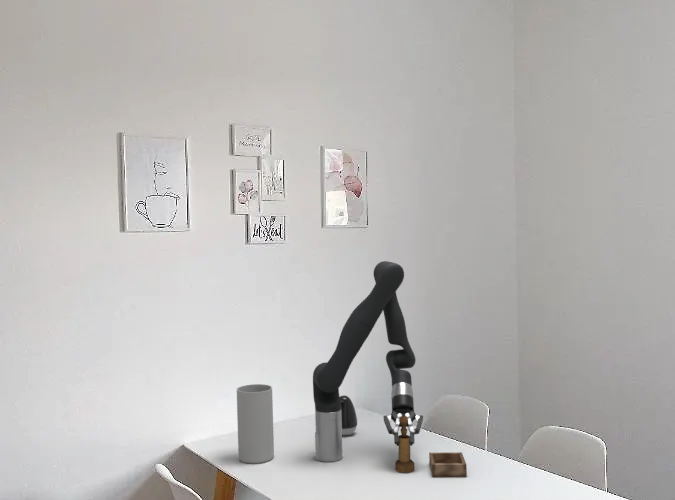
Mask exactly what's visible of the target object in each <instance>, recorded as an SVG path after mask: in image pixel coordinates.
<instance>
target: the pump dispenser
mask: <svg viewBox="0 0 675 500" xmlns="http://www.w3.org/2000/svg"><path fill="white" fill-rule="evenodd" d="M339 396H340V400H341V415H342V435H343V436H342V437H346V436H345V435H348V436H350V435H352V434H354V433H355V431H356V429H357V427H358V417H357V413H356V409H355V406H354V403H353V401H352V399H351V398H350V397H349V396H348V395H345V394H344V395H339Z"/></svg>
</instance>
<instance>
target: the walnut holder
mask: <svg viewBox="0 0 675 500" xmlns="http://www.w3.org/2000/svg"><path fill="white" fill-rule="evenodd" d="M428 457H429V461H428V463H429V468H430V472H431V473H430V474H431V478H467V476H468V474H467V472H468V471H467V463H466V459H465V457H464V455H463V452H459V451H458V452H453V451H452V452H446V451H445V452H429V453H428Z"/></svg>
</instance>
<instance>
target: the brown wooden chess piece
mask: <svg viewBox="0 0 675 500" xmlns="http://www.w3.org/2000/svg"><path fill="white" fill-rule="evenodd" d="M399 422H400V424H401V426H402V427H401V428H399V431H400V435H399V434H398V439H399V446H398V459H397V460H395V462H394V470H395V471H396V472H398V473H403V474H409V473H412V472H414V471H415V468H416V467H415V461H413V459H411V446H410V434H409V435H408V434H407V433H408V428H407V427H406V425H407V423H408V418H407V417H406V416H404V415H403V416H400V418H399Z"/></svg>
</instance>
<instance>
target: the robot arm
mask: <svg viewBox="0 0 675 500" xmlns="http://www.w3.org/2000/svg"><path fill="white" fill-rule="evenodd" d="M373 278H374V281H375V282H374V283H375V284H374V287H373V288H372V290H371V291H370V293H369V294H368V295H367V296H366V297H365V298H364V299H363V300H362V301H361V302H360V303H359V304H358V305H357V306H356V307H355V308H354V309H353V310H352V312H351V313H350V315H349V317H348V318H347V319H346V321H345V324H344V325H343V327H342V329H341V331H340V335H339V338H338V341H337V343H336V344H337V345H336V348H335V350H334V352H333V354H332V355H331V356H330V358H329V360H328V361H326V362H321V363H320V364H317V366H316V367H315V368H314V370H313V372H312V389H313V390H312V391H313V401H314V415H315V417H314V418H315V432H314V438H315V439H314V445H315V446H314V447H315V449H314V450H315V461H319V462H325V463H327V462H329V463H330V462H337V461H338V462H339V461H340V460H342V459H343V436H342V415H341V400H340V396H341V395H340V392H339V391H340V389H339V388H340V387H341V386H342V384H343V382H344V380H345V377H346V375H347V373H348V371H349V369H350V367H351V365H352V363H353V361H354V359H355V357H356V356H357V355H358V354H359V352H360V350H361V348H362V346H363V345H364V343H365V342H366V340H367V338H369V336H370V335H371V332H372V330H373V328H375V325H376V323H377V321H378V320H379V318H380V316H381V315H382V314H383V316H384V321H385V330H386V336H387V342H388V343H389V344H390V345H392V346H393V345H394V346H400V347H401V349H393V350H388V352H387V353H386V355H385V362H386V366H387V367H388V370H389V373H390V378H391V393H390V394H391V396H390V398H391V413H390V415H384V416H383V423H384V425H385V428H386V430H387V432H388V435H393V439H394V440H393V441H394V445H396V446H397V447H399V439H398V436H399V431H400V429H401V428H402V426H401V424H400V422H399V418H400V416H403V415H404V416H406V417H407V418H408V423H407V425H406V428H407V431H409V436H410V447H411V446H413V445H415V435H418V434H420V432H421V429H422V425H423V422H424V415H418V414H417V413H415V406H414V405H415V403H414V392H413V384H412V383H413V382H412V374H411V372H409V371H408V370H406V369H411V368H413V367H414V366H415V365H416V355H415V353H414V350H413V349H412V347H411V345H410V342H409V339H408V333H407V327H406V321H405V317H404V314H403V312H402V308H401V306H400V303H399V301H398V297H397V291H398V289H399V288H400V286H401V285H402V284H403V281H404V278H405V272H404V268H403V266H401V265H400V264H398V263H396V262H392V261H388V260H385V261H379V262H378V263H377V264H376V265H375V267H374V269H373ZM391 420H392V421H393V422H394V423H395V424H394V428H392V425H391ZM415 420H416V423H417V424H416V427H415V428H414V426H413V422H414V421H415ZM400 427H401V428H400Z"/></svg>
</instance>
